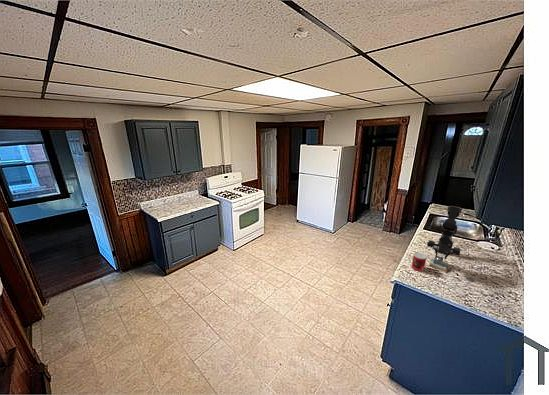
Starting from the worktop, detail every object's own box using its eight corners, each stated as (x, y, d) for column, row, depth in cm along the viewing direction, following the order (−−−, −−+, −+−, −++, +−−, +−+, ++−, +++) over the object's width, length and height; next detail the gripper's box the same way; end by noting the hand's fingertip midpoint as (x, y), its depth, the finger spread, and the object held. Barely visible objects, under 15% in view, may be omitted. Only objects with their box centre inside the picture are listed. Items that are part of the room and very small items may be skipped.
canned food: (421, 265, 162) (424, 252, 158) (425, 272, 155) (428, 259, 151) (409, 264, 164) (412, 251, 160) (413, 270, 157) (416, 257, 153)
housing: (434, 259, 165) (435, 254, 163) (442, 261, 162) (443, 256, 160) (432, 263, 160) (434, 258, 158) (441, 266, 157) (442, 261, 155)
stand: (431, 260, 168) (432, 257, 167) (447, 265, 162) (448, 262, 161) (429, 266, 161) (429, 263, 160) (445, 272, 155) (446, 269, 154)
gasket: (465, 277, 150) (466, 276, 150) (474, 280, 147) (474, 279, 147) (465, 280, 147) (465, 279, 147) (473, 283, 144) (474, 282, 144)
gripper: (428, 238, 154) (423, 257, 159) (462, 248, 142) (455, 268, 147) (430, 232, 162) (426, 250, 167) (463, 241, 150) (457, 260, 155)
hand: (440, 257), depth 159 cm, fingers open, 5 cm apart
